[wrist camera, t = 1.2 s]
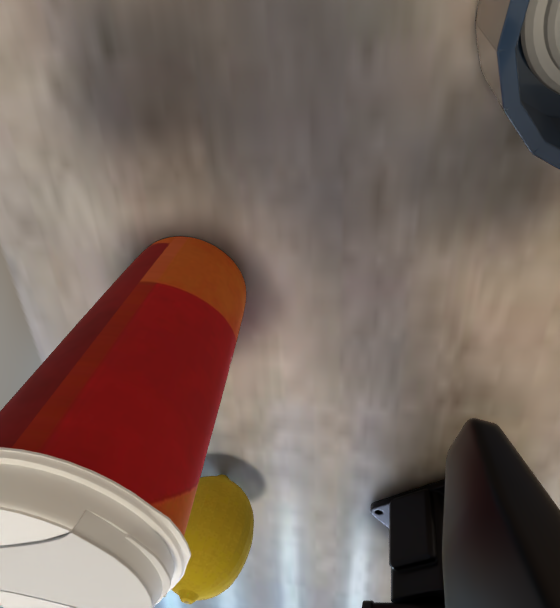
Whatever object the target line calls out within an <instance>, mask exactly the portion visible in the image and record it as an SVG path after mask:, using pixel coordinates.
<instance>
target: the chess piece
mask: <svg viewBox="0 0 560 608" xmlns="http://www.w3.org/2000/svg"><path fill="white" fill-rule="evenodd" d="M520 33H521V44H522V48H523V53H524V56H525V59H526V61H527V64H528V66H529V67H530V69H531V71H532V72H533V74H534V75H535V76H536V78H537V79H538V80H539V81H540V82H541V83H542V84H543V85H545V86H546V87H547V88H548V89H550V90H552V91H553V92H555V93H557V94H559V95H560V0H530V2H529V5H528V9H527V12H526V15H525V19H524V22H523V25H522V29H521V32H520Z"/></svg>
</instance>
